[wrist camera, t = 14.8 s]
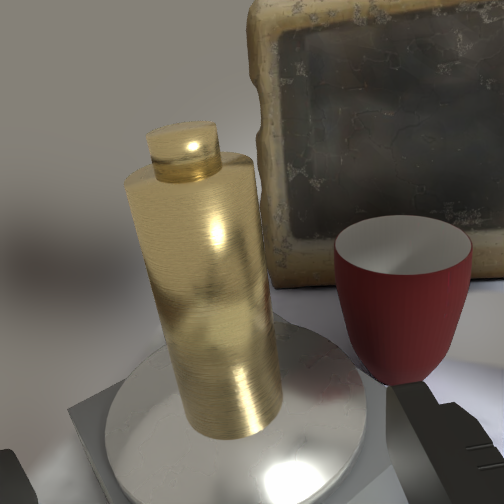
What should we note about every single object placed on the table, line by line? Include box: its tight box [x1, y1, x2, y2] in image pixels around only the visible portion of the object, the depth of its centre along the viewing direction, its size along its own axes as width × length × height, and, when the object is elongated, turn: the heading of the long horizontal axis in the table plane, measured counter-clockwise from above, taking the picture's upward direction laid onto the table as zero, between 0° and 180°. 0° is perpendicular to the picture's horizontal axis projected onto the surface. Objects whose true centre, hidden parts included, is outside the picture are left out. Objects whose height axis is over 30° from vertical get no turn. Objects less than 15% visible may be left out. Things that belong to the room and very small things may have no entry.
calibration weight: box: [124, 121, 283, 440], centre depth 20 cm, size 5×5×14 cm
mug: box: [334, 215, 473, 386], centre depth 32 cm, size 10×8×10 cm
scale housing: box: [67, 312, 409, 504], centre depth 26 cm, size 14×15×5 cm
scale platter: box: [105, 321, 366, 504], centre depth 24 cm, size 13×13×1 cm
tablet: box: [246, 0, 504, 289], centre depth 40 cm, size 33×14×25 cm, turn 88°
